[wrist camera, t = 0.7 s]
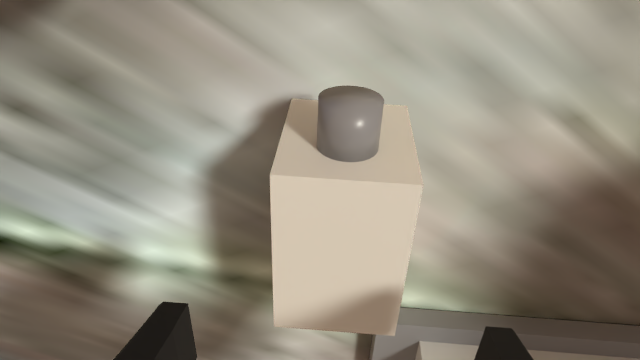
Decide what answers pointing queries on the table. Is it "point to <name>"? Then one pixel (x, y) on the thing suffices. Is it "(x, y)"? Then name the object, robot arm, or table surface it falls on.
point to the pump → (343, 212)
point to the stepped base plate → (535, 333)
